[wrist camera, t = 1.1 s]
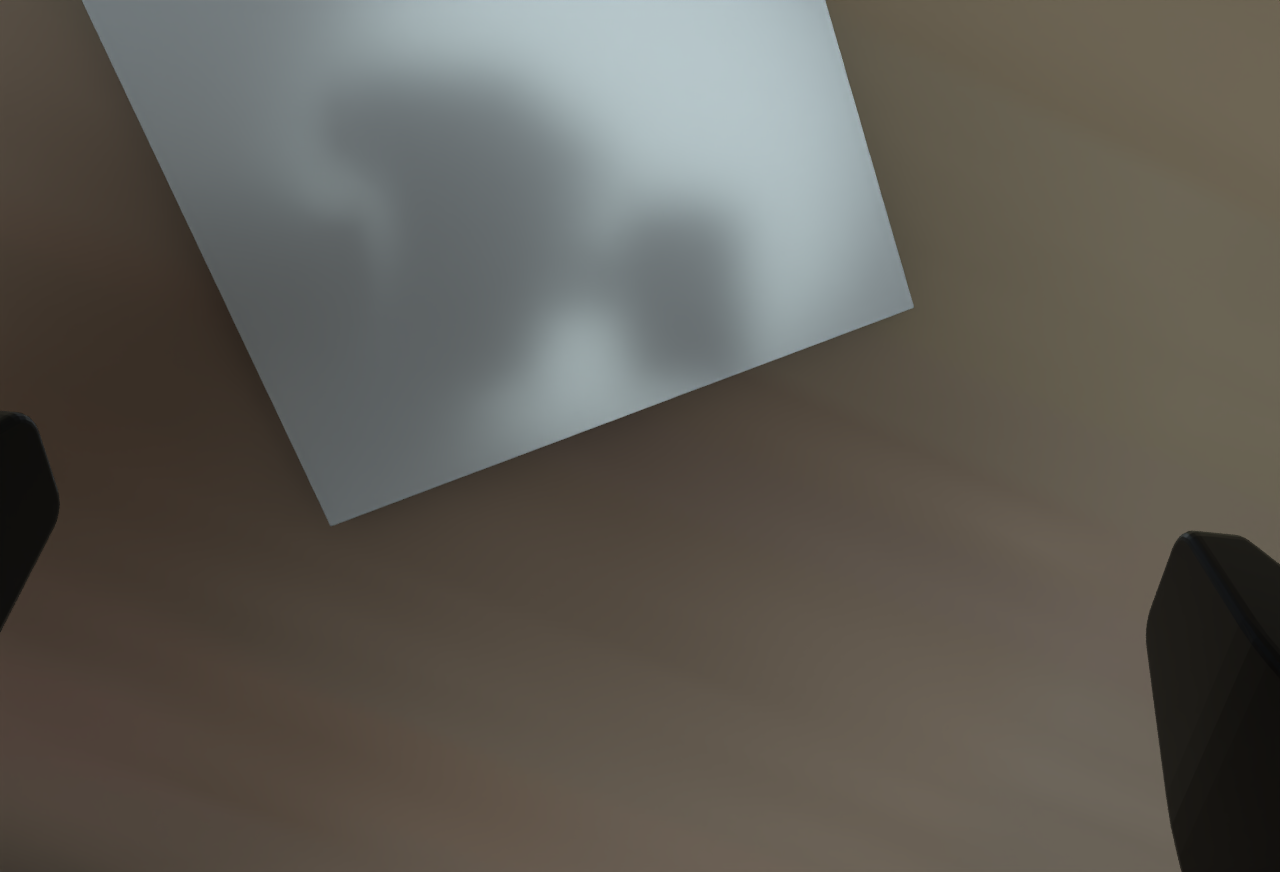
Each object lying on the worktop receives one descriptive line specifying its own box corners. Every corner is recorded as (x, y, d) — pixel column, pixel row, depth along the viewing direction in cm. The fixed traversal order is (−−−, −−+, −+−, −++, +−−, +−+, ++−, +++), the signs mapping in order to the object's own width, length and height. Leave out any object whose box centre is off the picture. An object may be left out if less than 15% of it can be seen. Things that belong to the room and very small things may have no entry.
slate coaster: (336, 515, 21) (330, 526, 20) (41, -111, 18) (25, -118, 17) (903, 302, 21) (914, 307, 20) (709, -362, 18) (715, -378, 17)
